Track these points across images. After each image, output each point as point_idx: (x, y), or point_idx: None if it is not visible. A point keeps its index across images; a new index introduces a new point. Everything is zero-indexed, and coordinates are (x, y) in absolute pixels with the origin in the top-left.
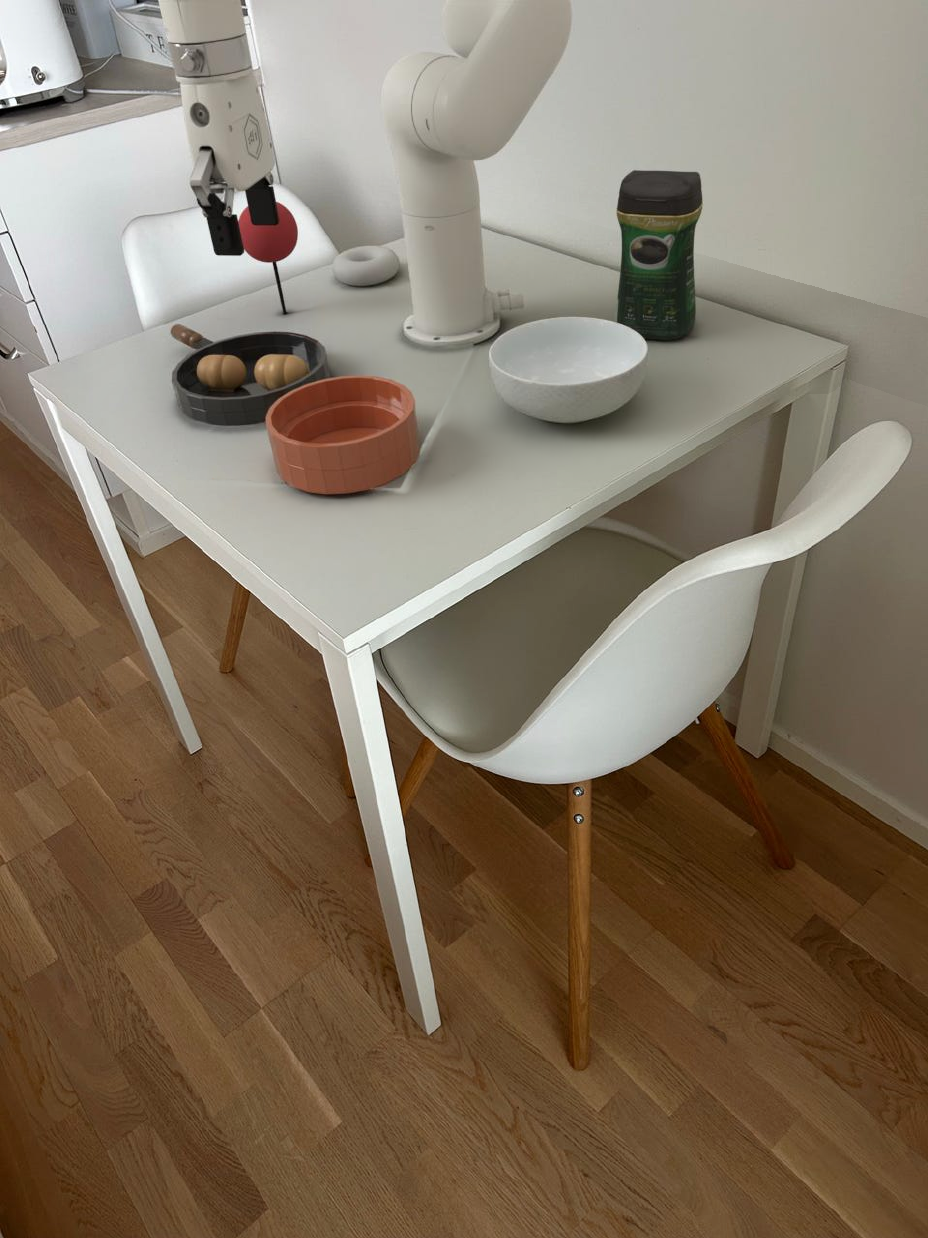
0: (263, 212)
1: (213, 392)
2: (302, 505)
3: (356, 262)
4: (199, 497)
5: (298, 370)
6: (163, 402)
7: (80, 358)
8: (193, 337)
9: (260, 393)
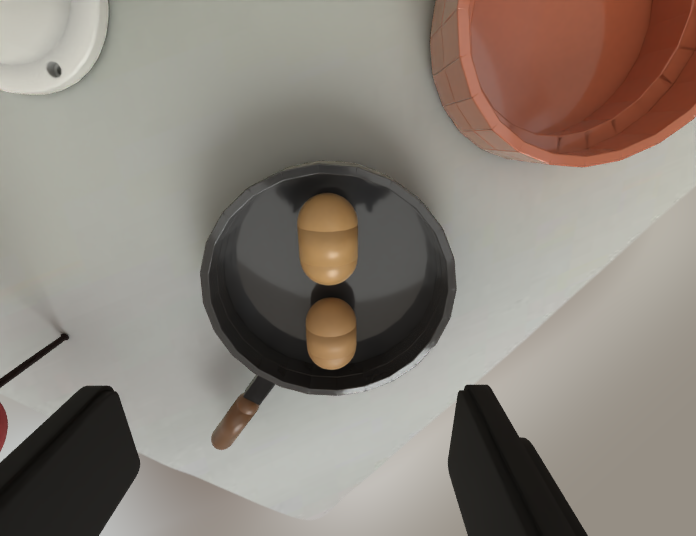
0: (93, 468)
1: None
2: None
3: None
4: (616, 235)
5: (343, 204)
6: None
7: (267, 506)
8: (252, 410)
9: None
